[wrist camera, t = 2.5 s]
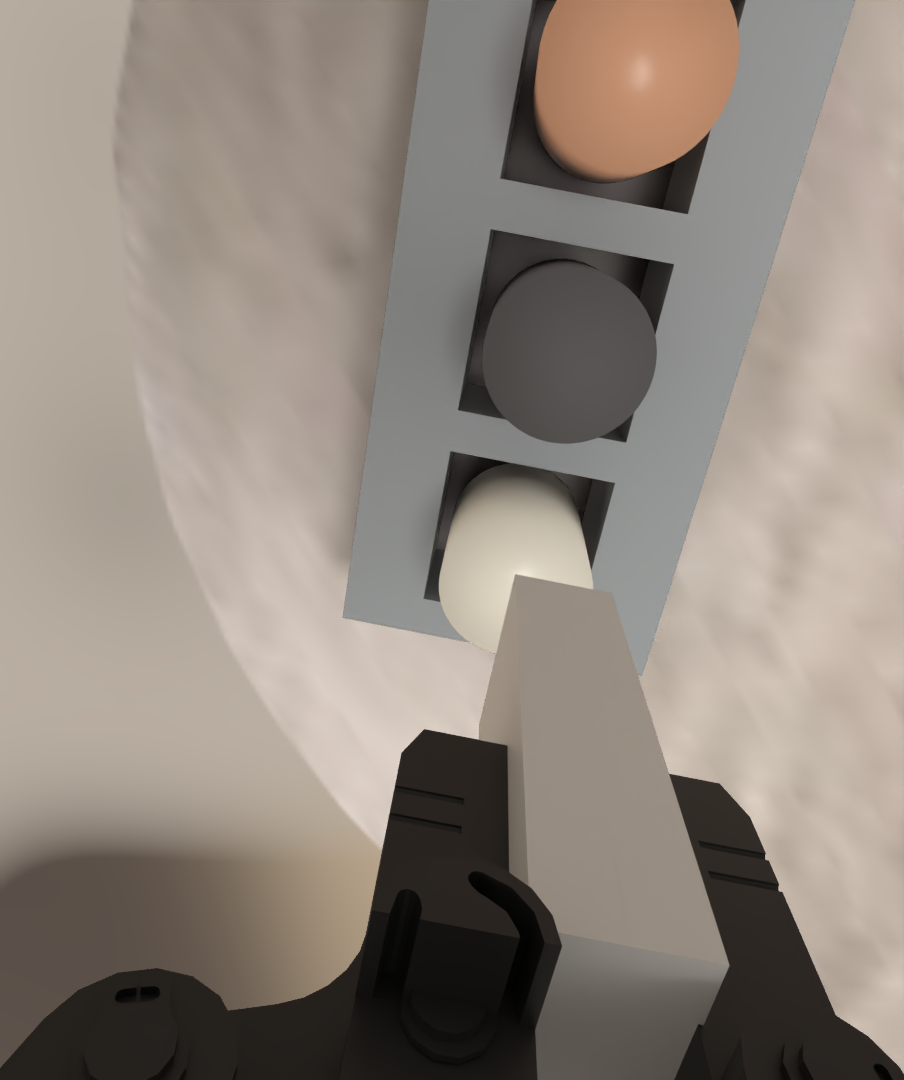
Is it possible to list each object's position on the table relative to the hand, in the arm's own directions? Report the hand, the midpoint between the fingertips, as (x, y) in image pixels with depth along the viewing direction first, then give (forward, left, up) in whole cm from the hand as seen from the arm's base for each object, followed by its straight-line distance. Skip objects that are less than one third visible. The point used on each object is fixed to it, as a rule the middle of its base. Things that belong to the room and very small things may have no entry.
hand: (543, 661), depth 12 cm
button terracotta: (-10, 0, -18) cm, 21 cm away
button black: (-3, 0, -18) cm, 19 cm away
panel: (-3, 0, -21) cm, 22 cm away
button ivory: (+5, 0, -18) cm, 19 cm away
